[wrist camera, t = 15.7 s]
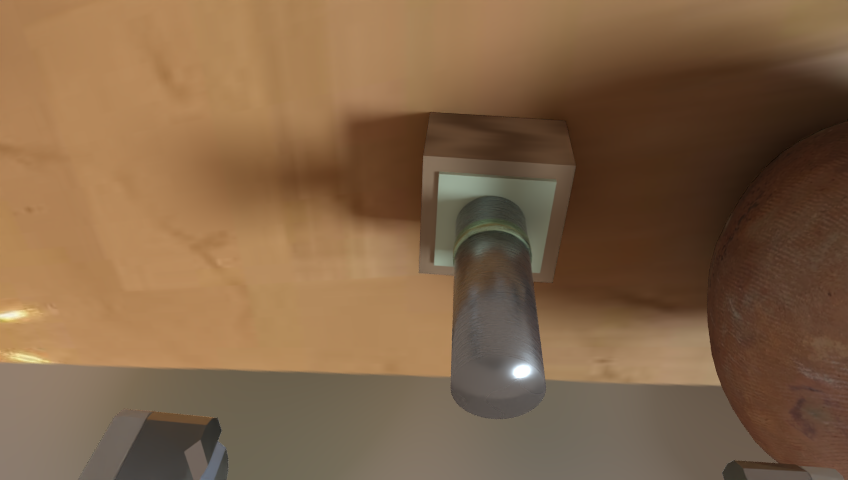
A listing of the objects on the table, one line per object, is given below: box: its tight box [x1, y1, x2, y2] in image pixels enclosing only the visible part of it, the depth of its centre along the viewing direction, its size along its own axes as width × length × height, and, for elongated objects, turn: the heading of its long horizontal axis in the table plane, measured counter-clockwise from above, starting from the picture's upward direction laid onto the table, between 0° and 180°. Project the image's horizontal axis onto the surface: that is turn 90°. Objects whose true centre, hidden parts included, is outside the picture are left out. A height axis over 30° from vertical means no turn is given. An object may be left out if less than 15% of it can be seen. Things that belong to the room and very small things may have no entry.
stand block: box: [419, 112, 576, 283], centre depth 43 cm, size 9×9×6 cm
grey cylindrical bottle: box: [451, 196, 546, 419], centre depth 35 cm, size 5×5×13 cm
